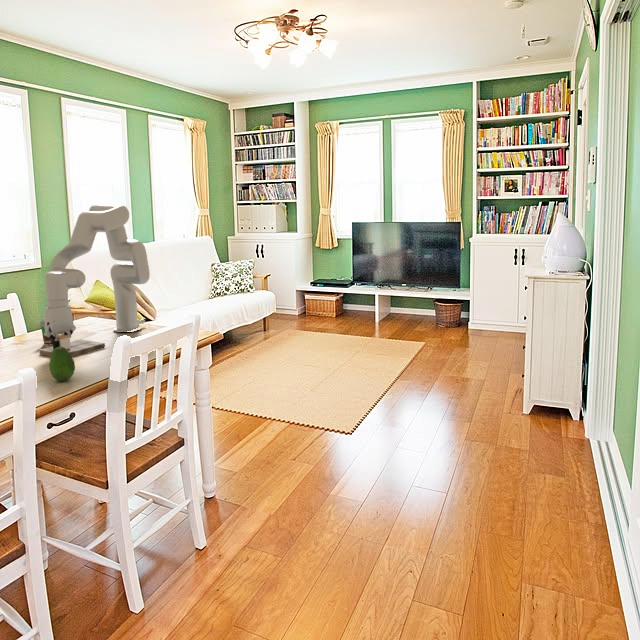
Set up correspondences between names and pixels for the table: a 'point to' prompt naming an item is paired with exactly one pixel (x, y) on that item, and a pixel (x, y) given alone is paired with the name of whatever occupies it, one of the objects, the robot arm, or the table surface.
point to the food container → (45, 338)
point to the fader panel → (77, 348)
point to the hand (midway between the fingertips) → (61, 348)
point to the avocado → (61, 364)
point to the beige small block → (64, 340)
